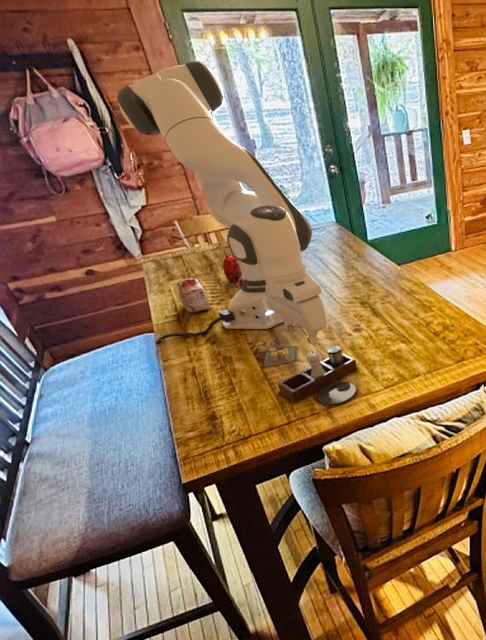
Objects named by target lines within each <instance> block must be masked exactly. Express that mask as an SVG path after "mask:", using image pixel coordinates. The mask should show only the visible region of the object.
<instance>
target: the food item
mask: <svg viewBox="0 0 486 640" xmlns="http://www.w3.org/2000/svg"><path fill="white" fill-rule="evenodd" d="M177 288H178V290H177V293H178V297H179V300H180V301H181V304H182V306H183V307H184V309H185V310H186V311H187V312H189V313H190V314H194V313H195V314H196V313H200V312H205V311H208V310H210V309H211V307H210V301H209V298H208V296H207V292H206V291H205V289H204V287H203V285H202V284H201V282H200V281H199V280H198V278H194V277H191V278H189V277H188V278H184V279H181V280H179V281H178V282H177ZM196 310H197V311H196ZM191 311H192V312H191Z"/></svg>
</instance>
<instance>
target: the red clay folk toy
mask: <svg viewBox="0 0 486 640" xmlns="http://www.w3.org/2000/svg"><path fill="white" fill-rule="evenodd" d="M217 242H218V243H217V245H215V248H216V249H219V248H220V247H221V249H222V251H223V252H224V255H225V257H224V258H223V261H222V270H223V274H224V276H225V277H226V279H227V280H228V281H229V282H233V283H234V282H238V280H239V279H240V278H241V275H242V272H241V269H240V266H239V263H238V260H237V259H236V258H235V257H234V256H233V254H231V255H230V256H229V255H228V254H227V252H226V249H225V248H224V247H223V245H222V244H223V242H220V241H219V240H217Z"/></svg>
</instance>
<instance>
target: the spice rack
mask: <svg viewBox="0 0 486 640" xmlns="http://www.w3.org/2000/svg"><path fill="white" fill-rule="evenodd" d="M342 354H343V359H344V364H342V365H340V366H338V367H336V368H335V369H334V368H333V367H331V363H330V359H329V357H327V358H325V359H323V360H321V366H322V368H323V370H325V371H326V372H327V373H325V374H323V375H321V376H319V377H317V378H315V379H313V378H312V377H310V376H311V373H312V370H311V366H308V367H307V368H305V369H303V370H301V371H299V372H298V373H295V374H293V375H292V376H288V377H287V378H285V379H283V380H281V381H279V382H277V386H278V389H279V393H280V394H281V395H283V396H284V397H285V398H287V399H288V400H290V401H292V402H293V403H294V404H295V403H298V402H300V401H301V400H303V399H305V398H307V397H309V396H311V395H312V394H315V393H316V392H318V391H321V390H322V389H323V388H324V387H326V386H328V385H330V384H333V383H336V381H338V380H340V379H342V378H344V377H346V376H348V375H349V374H351V373H354V372H355V371H356V370H358V367H357V362H356V359H355V358H353V357H351V356H349V355H348V354H345V353H343V352H342Z"/></svg>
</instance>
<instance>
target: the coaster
mask: <svg viewBox="0 0 486 640" xmlns="http://www.w3.org/2000/svg"><path fill="white" fill-rule="evenodd" d="M356 394H357V387H356V386H355V384H353V383H352V382H349V381H338V382H333V383H331V384H329V385H327V386H326V387H324V388H322V389H320V390H319V392H318V395H317V399H318V401H319V403H321V404H323V405H325V406H338V405H342V404H345V403H347V402H349V401H350V400H352V399H353V398H354V397H355V395H356Z"/></svg>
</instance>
